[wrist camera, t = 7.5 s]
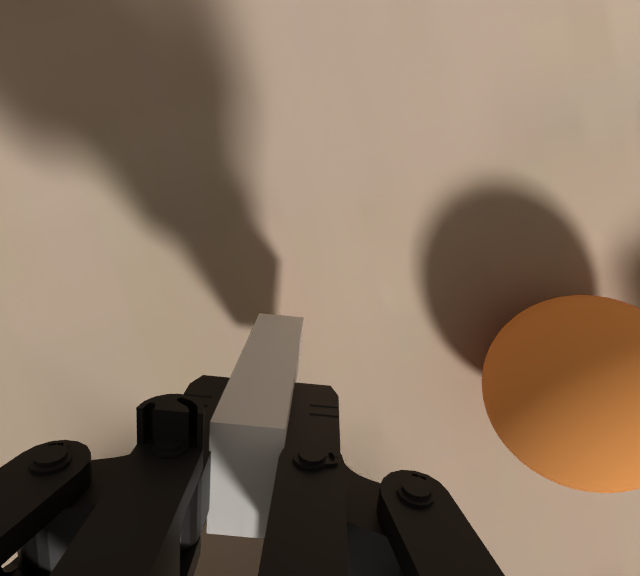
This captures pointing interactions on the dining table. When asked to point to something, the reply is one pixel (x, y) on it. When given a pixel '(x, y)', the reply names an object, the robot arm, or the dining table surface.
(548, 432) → the ball
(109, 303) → the dining table surface
